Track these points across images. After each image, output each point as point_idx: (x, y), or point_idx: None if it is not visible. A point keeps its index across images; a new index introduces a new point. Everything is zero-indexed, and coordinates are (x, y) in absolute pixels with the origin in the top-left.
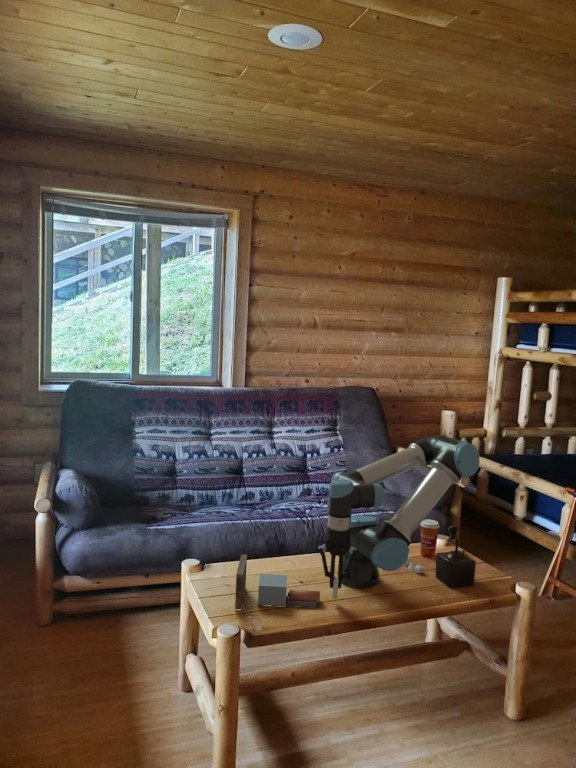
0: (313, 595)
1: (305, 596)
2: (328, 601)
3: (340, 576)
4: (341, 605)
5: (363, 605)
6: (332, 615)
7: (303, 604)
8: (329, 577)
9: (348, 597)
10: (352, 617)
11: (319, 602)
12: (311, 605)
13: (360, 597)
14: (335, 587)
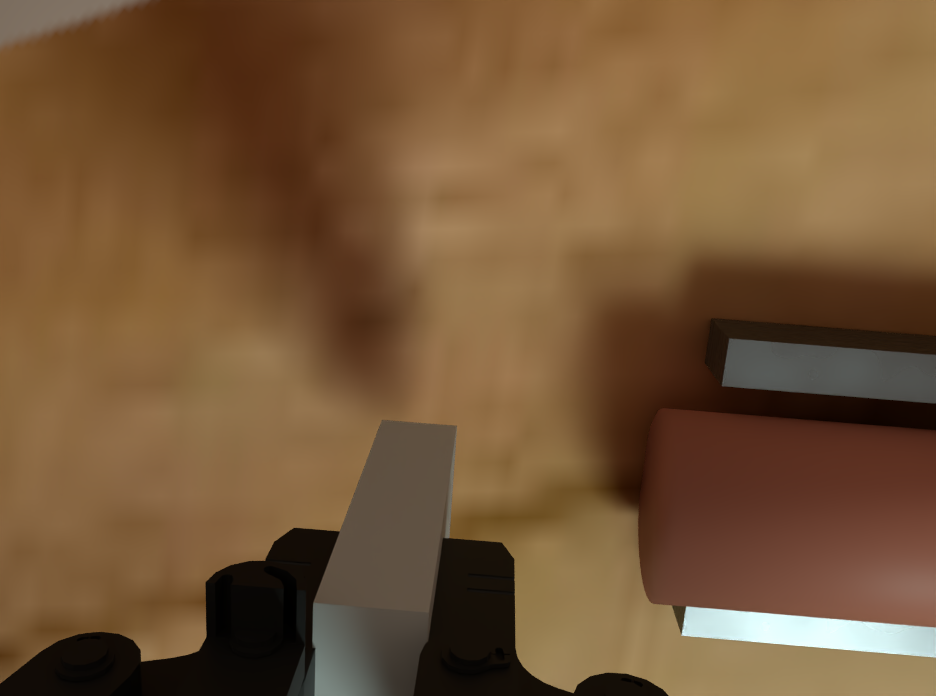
0: (789, 472)
1: (922, 464)
2: (500, 510)
3: (241, 664)
4: (325, 401)
5: (8, 407)
6: (501, 91)
7: (931, 344)
8: (537, 680)
9: (204, 621)
10: (194, 36)
11: (662, 409)
12: (800, 331)
13: (39, 622)
14: (400, 513)
